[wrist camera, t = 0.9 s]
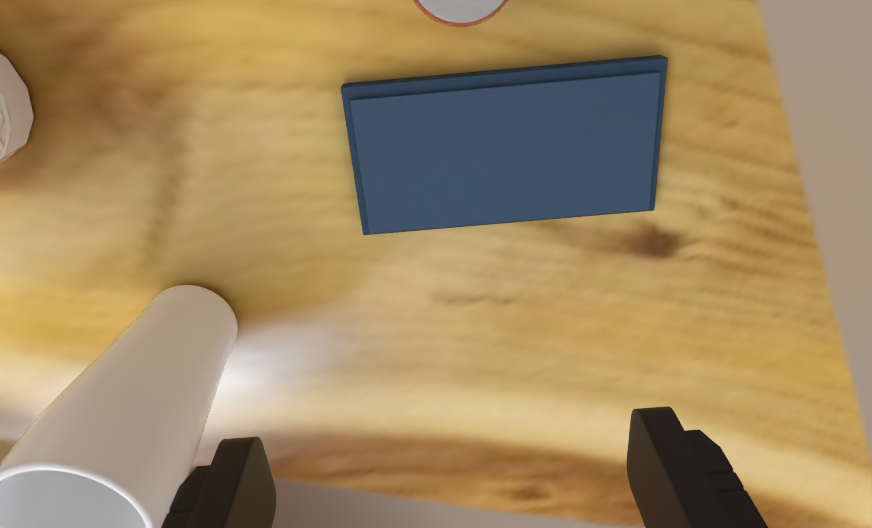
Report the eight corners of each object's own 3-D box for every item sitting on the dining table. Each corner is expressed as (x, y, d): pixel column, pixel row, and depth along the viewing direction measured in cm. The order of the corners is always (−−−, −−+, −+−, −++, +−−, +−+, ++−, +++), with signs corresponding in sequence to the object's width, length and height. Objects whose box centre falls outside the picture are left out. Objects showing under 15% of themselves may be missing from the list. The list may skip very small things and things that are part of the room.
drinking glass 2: (115, 292, 36) (-70, 495, 22) (215, 253, 34) (85, 442, 21) (178, 377, 38) (49, 601, 25) (272, 343, 37) (189, 559, 24)
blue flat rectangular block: (342, 83, 30) (339, 88, 29) (660, 54, 30) (670, 58, 29) (364, 228, 34) (362, 237, 33) (648, 204, 34) (656, 212, 32)
